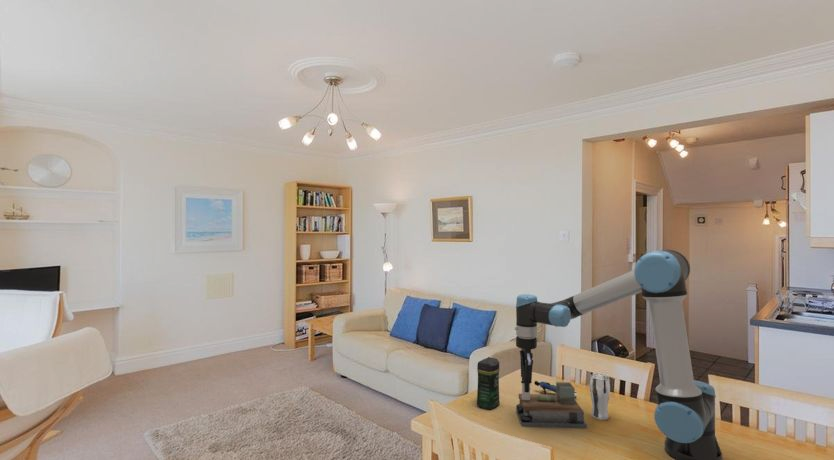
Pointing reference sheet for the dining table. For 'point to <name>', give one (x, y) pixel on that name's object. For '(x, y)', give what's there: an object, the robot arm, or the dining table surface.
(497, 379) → the coffee jar
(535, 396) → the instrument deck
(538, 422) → the grey base with fittings
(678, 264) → the robot arm
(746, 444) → the dining table surface
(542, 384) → the person figurine
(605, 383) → the beer glass
